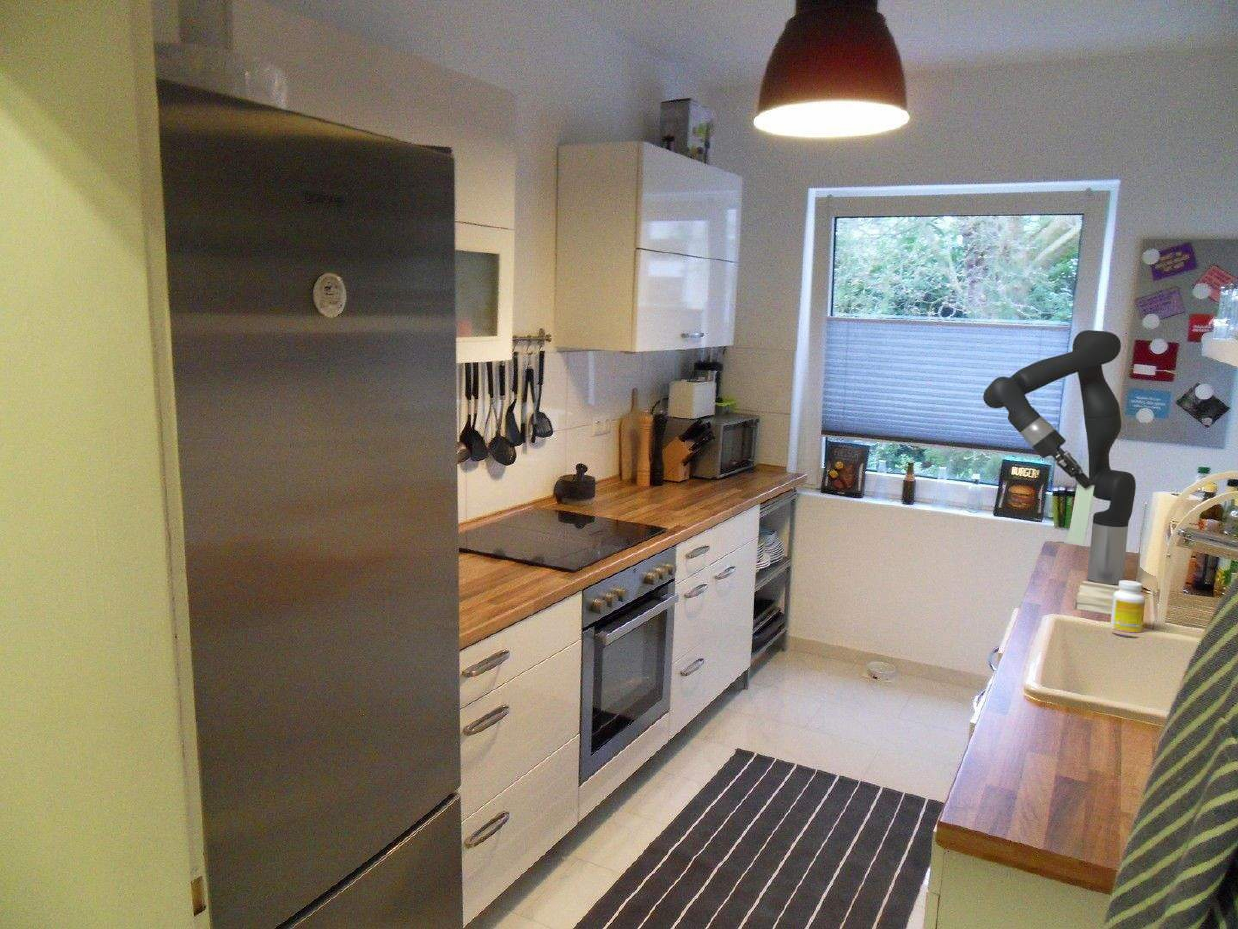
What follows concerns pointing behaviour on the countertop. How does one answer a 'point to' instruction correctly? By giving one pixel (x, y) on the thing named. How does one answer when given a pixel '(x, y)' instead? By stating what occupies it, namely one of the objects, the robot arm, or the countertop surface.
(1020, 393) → the robot arm
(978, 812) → the countertop surface
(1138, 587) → the supplement bottle
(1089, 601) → the offcut stack
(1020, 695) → the countertop surface
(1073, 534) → the sage slat
